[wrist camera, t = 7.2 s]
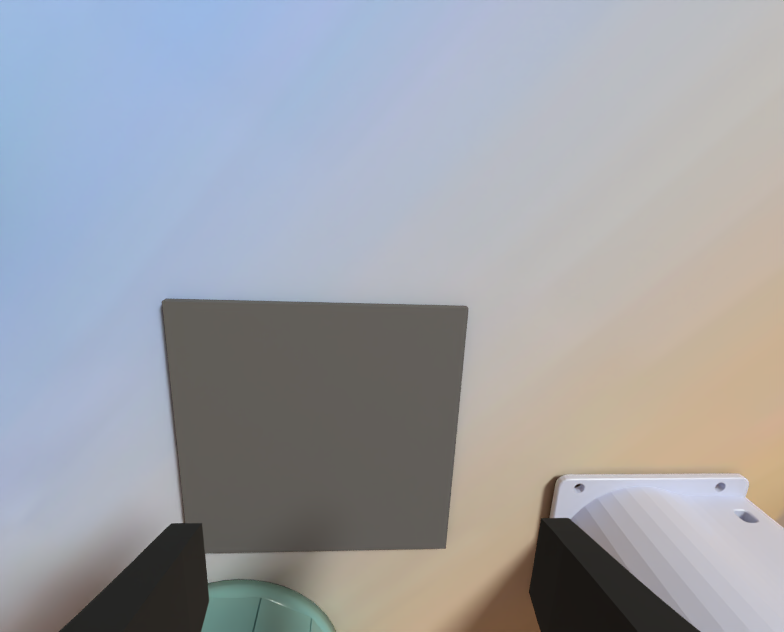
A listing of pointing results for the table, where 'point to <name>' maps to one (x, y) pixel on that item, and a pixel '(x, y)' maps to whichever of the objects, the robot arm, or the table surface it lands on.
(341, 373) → the mat
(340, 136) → the table surface
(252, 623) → the bowl
